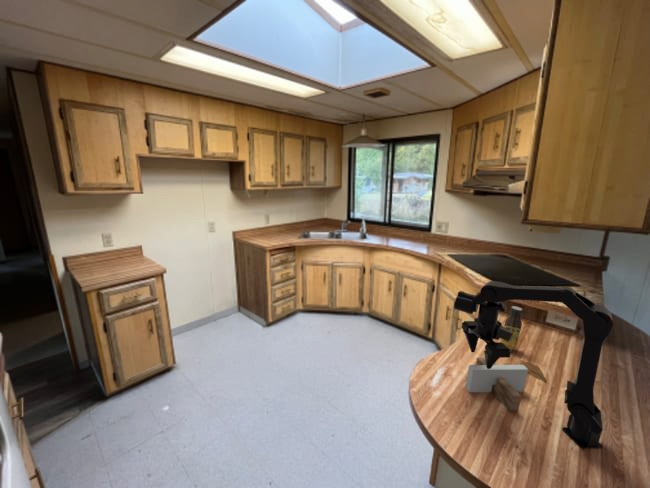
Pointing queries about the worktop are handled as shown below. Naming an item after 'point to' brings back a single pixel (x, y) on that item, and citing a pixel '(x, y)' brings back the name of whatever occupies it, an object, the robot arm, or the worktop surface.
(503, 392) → the slotted base plate
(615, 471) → the worktop surface
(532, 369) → the shard
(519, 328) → the sauce bottle
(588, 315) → the robot arm
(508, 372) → the slotted top plate
